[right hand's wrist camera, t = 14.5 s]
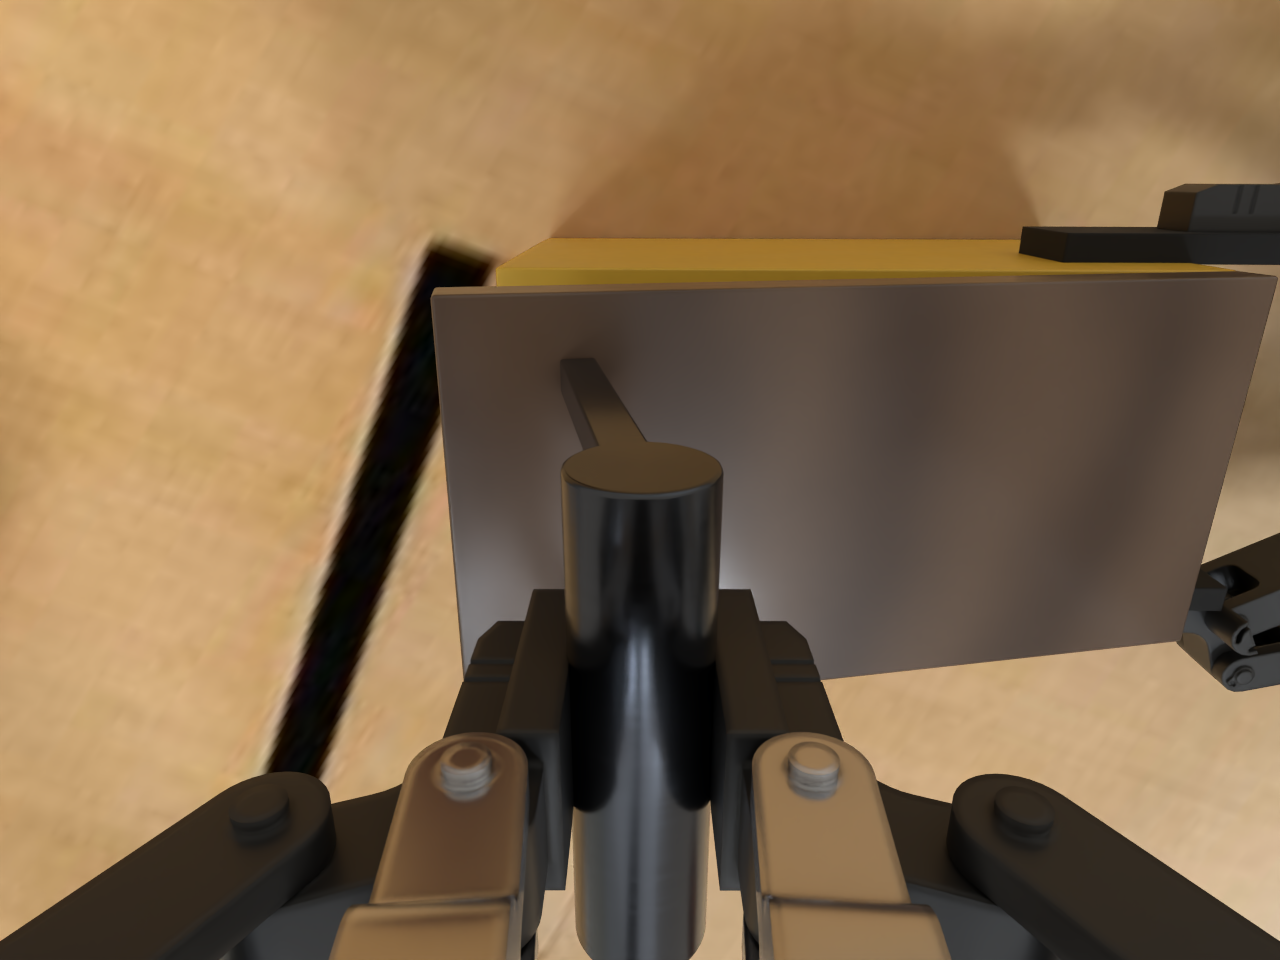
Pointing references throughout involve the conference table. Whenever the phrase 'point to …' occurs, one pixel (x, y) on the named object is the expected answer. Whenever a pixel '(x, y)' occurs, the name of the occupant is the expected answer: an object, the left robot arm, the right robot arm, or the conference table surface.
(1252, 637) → the left robot arm
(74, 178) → the conference table surface
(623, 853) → the lid
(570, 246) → the chest
